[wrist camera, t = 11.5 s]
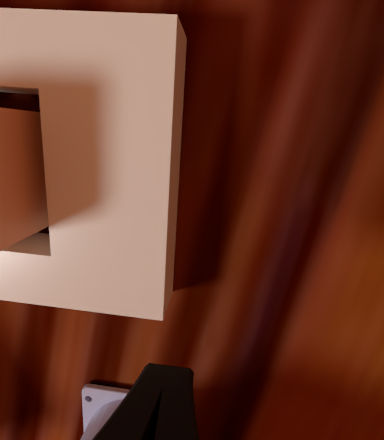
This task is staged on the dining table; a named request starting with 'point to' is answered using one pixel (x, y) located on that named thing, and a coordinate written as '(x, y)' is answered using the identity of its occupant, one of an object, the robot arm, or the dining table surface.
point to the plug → (21, 176)
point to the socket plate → (99, 157)
